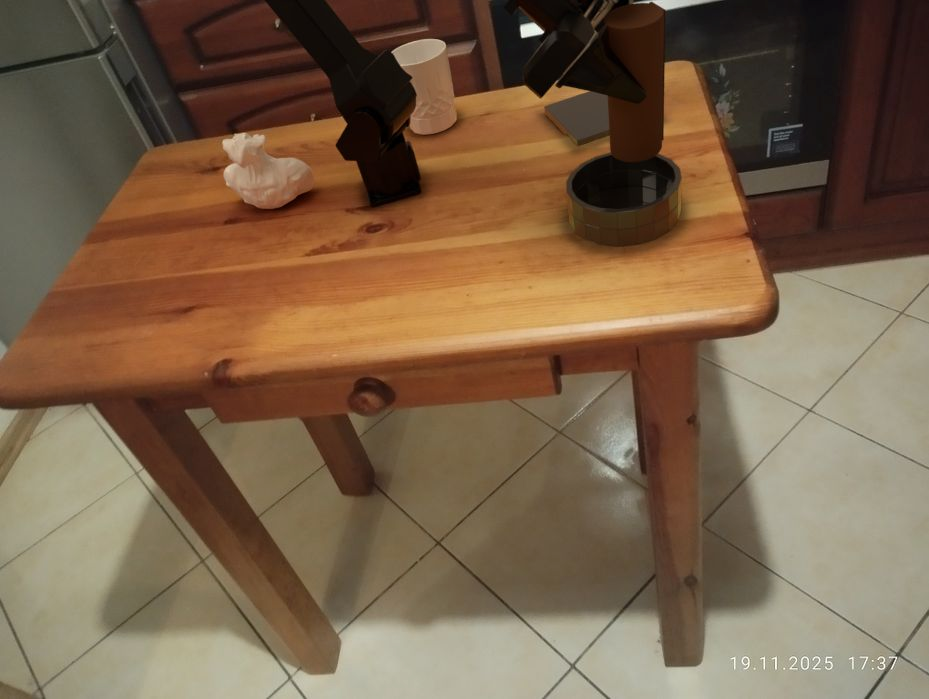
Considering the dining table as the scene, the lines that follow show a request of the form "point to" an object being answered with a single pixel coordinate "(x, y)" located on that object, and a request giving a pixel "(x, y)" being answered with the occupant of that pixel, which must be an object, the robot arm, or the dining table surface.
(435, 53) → the white cup
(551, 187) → the dining table surface
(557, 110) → the plate
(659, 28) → the brown cylinder
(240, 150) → the white lumpy figure
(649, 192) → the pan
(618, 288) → the dining table surface
